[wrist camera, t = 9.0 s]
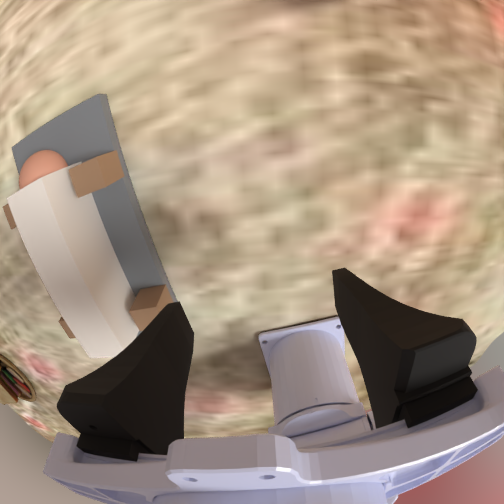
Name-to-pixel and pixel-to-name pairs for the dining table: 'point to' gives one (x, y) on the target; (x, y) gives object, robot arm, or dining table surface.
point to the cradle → (105, 198)
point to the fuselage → (73, 255)
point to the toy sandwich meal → (14, 384)
